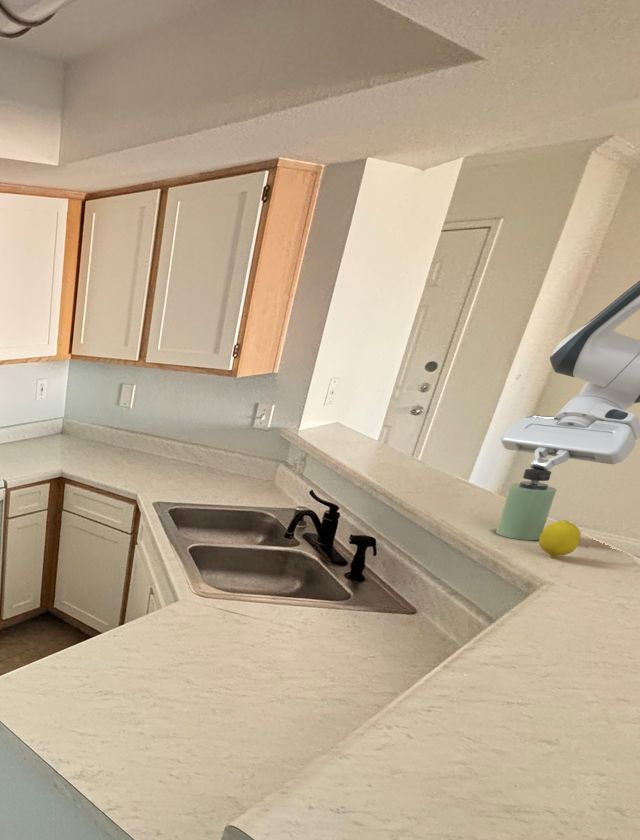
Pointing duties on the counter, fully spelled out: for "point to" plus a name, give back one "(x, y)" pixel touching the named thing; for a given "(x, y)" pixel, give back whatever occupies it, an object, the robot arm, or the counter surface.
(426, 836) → the counter surface
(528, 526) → the soap bottle
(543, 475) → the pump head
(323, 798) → the counter surface
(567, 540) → the lemon
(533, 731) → the counter surface
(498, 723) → the counter surface
